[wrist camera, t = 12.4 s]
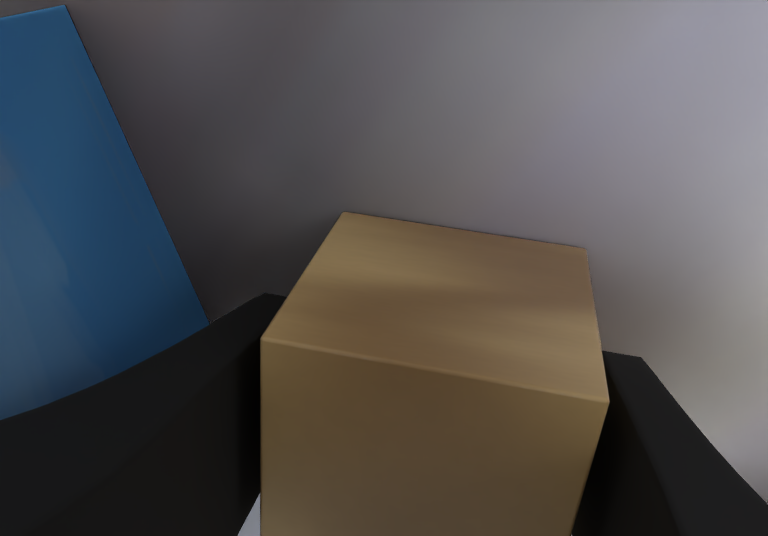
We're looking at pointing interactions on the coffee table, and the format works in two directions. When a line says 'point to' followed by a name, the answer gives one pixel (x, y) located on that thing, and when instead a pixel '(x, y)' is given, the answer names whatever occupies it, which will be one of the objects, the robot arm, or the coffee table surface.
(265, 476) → the block
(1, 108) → the perfume bottle
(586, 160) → the coffee table surface
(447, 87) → the coffee table surface
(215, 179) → the coffee table surface
